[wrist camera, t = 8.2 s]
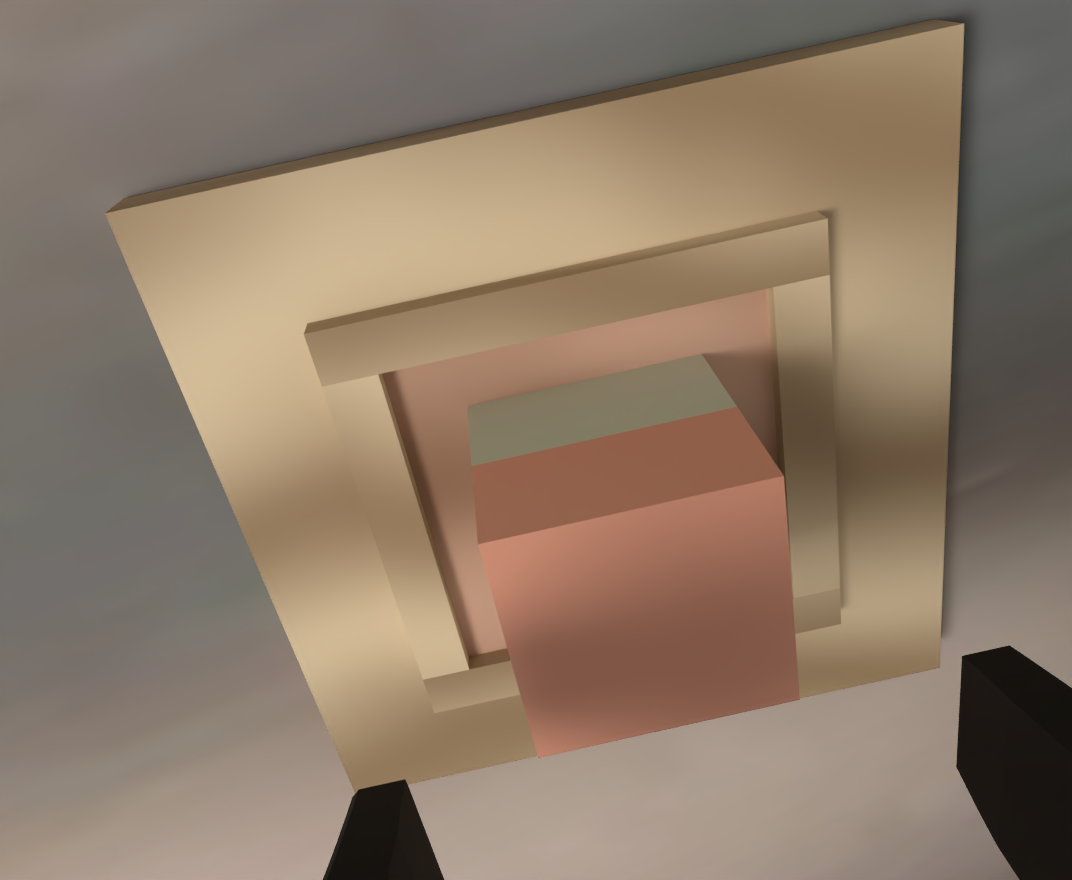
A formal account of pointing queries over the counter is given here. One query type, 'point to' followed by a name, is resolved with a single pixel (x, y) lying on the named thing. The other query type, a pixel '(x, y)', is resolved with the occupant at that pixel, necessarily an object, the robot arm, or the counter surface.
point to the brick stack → (634, 554)
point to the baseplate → (573, 356)
